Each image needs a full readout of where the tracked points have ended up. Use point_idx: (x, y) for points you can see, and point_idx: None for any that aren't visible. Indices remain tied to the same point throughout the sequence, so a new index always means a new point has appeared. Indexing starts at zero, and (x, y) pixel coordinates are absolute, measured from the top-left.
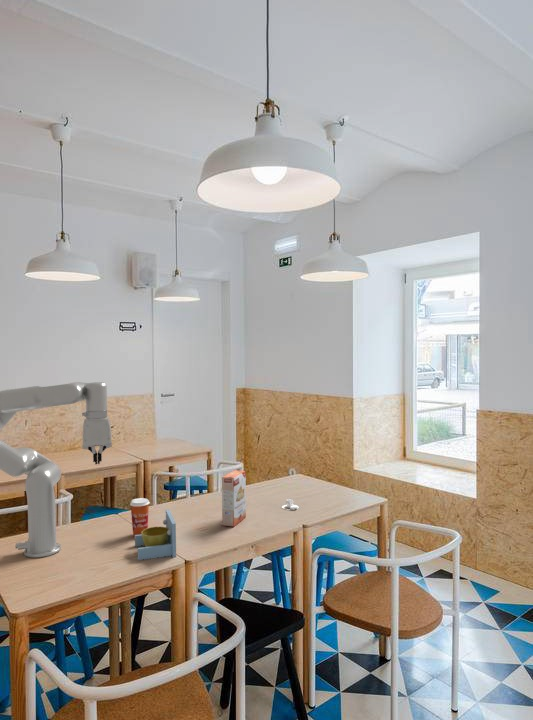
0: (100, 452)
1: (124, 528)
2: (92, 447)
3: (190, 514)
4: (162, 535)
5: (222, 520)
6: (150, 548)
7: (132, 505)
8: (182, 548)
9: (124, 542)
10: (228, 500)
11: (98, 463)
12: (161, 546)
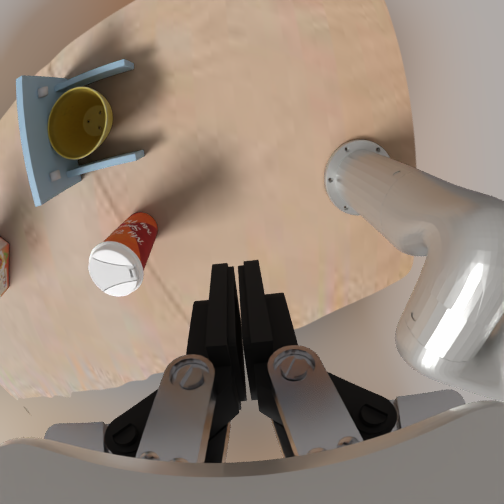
0: (192, 369)
1: (186, 278)
2: (337, 432)
3: (74, 320)
4: (61, 96)
5: (3, 248)
6: (97, 68)
7: (130, 250)
8: None
9: (172, 183)
10: None
11: (225, 265)
12: (74, 77)
